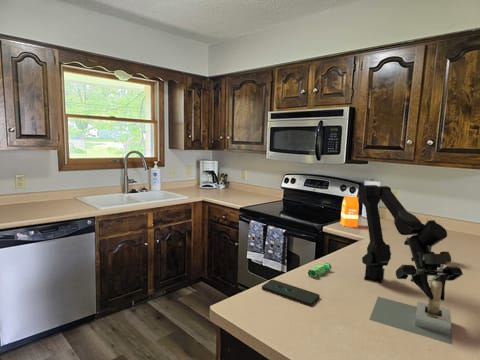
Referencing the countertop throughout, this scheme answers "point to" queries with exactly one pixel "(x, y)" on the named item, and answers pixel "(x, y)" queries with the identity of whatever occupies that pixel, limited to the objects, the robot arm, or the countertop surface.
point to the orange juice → (350, 211)
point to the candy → (319, 270)
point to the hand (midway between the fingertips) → (437, 299)
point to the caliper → (433, 276)
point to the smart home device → (291, 292)
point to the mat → (403, 318)
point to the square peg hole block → (433, 319)
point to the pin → (435, 297)
